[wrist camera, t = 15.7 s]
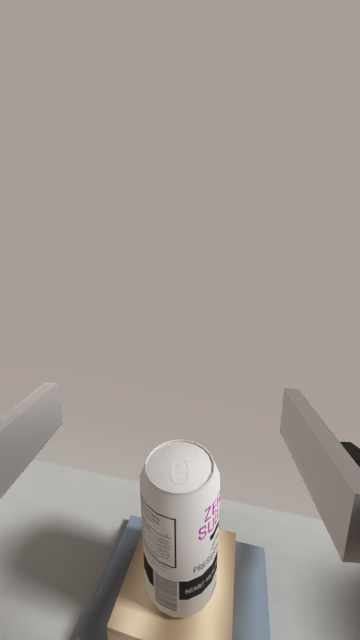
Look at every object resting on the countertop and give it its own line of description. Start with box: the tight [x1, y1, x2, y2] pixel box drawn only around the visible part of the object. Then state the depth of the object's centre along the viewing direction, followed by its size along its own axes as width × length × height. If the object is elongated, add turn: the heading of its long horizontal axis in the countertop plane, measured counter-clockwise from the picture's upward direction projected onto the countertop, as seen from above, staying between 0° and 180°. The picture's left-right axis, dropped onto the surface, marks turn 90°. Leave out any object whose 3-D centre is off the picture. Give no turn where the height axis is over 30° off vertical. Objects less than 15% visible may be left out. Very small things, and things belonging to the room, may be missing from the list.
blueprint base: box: [76, 515, 270, 640], centre depth 30 cm, size 20×16×5 cm
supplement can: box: [140, 440, 220, 617], centre depth 28 cm, size 8×8×15 cm
